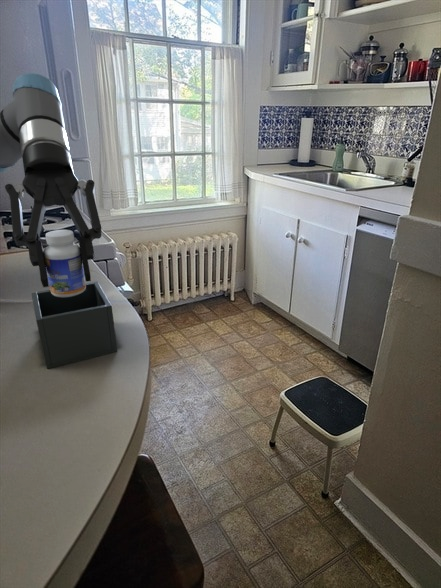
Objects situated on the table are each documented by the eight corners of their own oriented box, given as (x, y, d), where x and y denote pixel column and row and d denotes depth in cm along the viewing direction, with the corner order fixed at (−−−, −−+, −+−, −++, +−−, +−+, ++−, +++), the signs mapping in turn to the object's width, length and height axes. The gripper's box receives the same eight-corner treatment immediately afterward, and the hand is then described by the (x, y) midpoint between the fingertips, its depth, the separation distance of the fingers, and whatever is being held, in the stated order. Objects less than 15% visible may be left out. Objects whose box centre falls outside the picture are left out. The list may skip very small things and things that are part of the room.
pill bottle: (43, 295, 62) (31, 235, 58) (67, 282, 67) (57, 226, 63) (70, 300, 60) (60, 239, 56) (93, 287, 65) (85, 230, 61)
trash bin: (46, 369, 61) (36, 320, 57) (41, 336, 70) (31, 292, 66) (117, 351, 65) (111, 305, 62) (103, 323, 74) (97, 281, 71)
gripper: (103, 168, 72) (127, 281, 65) (-10, 173, 66) (4, 299, 59) (102, 138, 66) (129, 261, 59) (-22, 141, 59) (-9, 279, 52)
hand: (66, 280), depth 59 cm, fingers closed on pill bottle, 5 cm apart
